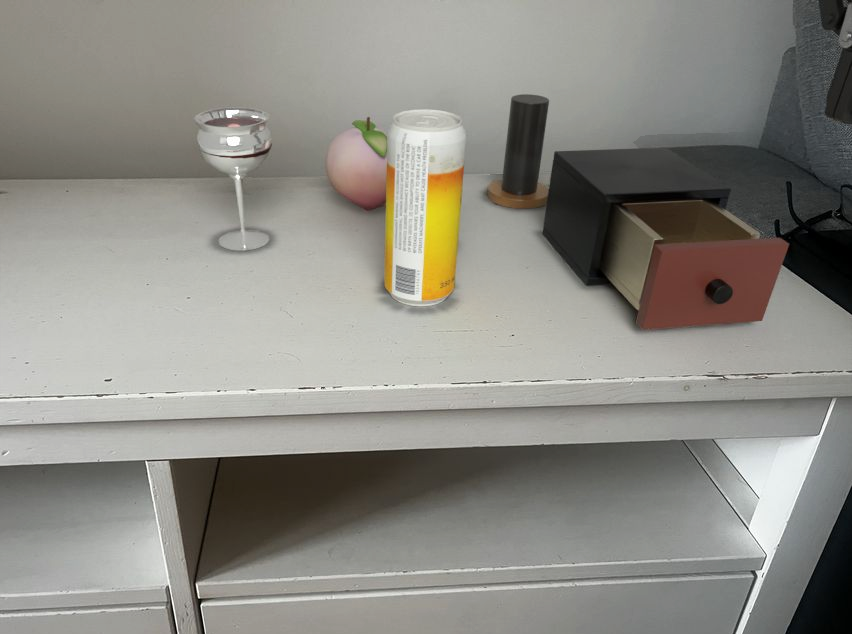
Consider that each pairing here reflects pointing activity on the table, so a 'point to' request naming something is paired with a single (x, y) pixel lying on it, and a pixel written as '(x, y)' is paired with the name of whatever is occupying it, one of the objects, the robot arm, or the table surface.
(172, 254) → the table surface
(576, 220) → the drawer cabinet
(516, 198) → the disc
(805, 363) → the table surface
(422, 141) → the beer can
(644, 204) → the cabinet drawer
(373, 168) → the decorative fruit
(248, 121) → the wineglass
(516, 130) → the dark grey cylinder
